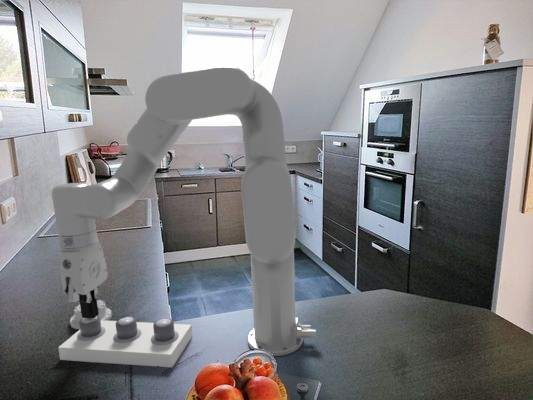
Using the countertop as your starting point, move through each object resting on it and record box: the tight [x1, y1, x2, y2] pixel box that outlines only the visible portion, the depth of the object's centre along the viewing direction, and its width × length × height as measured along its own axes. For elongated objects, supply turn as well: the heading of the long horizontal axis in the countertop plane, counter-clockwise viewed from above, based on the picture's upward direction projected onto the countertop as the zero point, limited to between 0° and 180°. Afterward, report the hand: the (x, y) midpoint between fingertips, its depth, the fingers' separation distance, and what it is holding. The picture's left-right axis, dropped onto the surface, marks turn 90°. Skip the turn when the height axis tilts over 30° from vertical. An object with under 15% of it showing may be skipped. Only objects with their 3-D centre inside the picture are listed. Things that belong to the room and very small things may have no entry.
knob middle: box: [116, 316, 138, 339], centre depth 87 cm, size 4×4×3 cm
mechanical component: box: [69, 299, 113, 330], centre depth 101 cm, size 10×4×10 cm
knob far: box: [79, 316, 102, 337], centre depth 88 cm, size 4×4×3 cm
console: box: [58, 320, 193, 368], centre depth 87 cm, size 26×12×3 cm, turn 81°
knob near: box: [153, 318, 175, 341], centre depth 85 cm, size 4×4×3 cm
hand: (90, 316), depth 88 cm, fingers closed
